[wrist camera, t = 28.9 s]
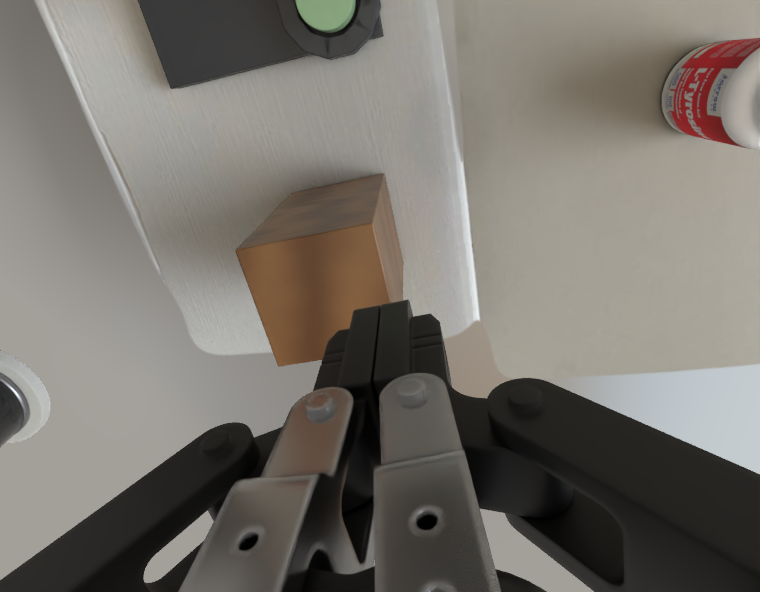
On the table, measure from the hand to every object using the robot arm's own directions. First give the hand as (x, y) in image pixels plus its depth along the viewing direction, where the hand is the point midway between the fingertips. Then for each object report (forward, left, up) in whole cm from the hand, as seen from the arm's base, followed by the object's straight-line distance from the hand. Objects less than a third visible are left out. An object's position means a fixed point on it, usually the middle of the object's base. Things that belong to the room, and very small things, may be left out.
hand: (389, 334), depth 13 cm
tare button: (-2, +12, -24) cm, 27 cm away
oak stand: (-5, -4, -27) cm, 28 cm away
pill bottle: (+23, +1, -27) cm, 35 cm away
